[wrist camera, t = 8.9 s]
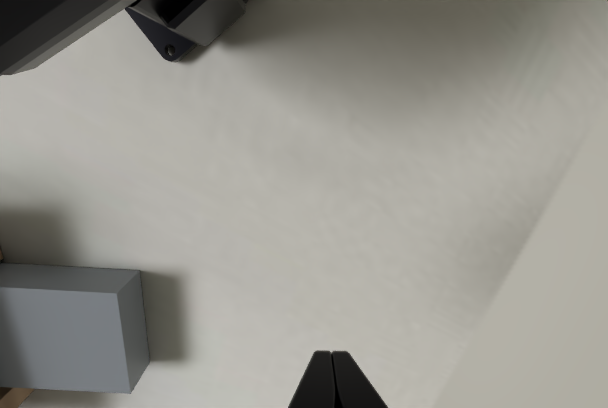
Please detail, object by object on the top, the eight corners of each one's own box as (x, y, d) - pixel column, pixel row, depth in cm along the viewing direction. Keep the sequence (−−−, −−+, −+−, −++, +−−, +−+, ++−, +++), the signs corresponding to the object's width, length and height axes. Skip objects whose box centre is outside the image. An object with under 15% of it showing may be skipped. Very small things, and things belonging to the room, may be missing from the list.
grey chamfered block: (139, 270, 20) (116, 293, 18) (149, 362, 22) (130, 393, 20) (-123, 256, 20) (-181, 277, 17) (-87, 349, 22) (-135, 379, 20)
